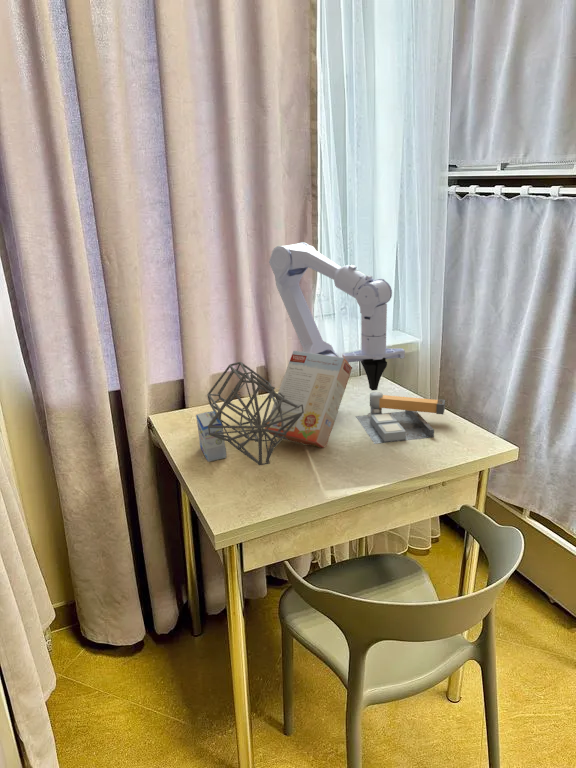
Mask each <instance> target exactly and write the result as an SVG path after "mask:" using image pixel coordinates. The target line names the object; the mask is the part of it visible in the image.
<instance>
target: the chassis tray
mask: <svg viewBox="0 0 576 768" xmlns="http://www.w3.org/2000/svg"><path fill="white" fill-rule="evenodd" d="M369 410H370V412H369V413H367V414H366V415H365V414H364V415H356V416H355V417H356V419H357V420H358V422H359V424H360V425H361V426H362V428H363V429H364V431H365V432H366V434H367V435H368V437H369V438H370V440H371V441H372V442H373V445H376V444H377V445H378V444H385V443H386V444H387V443H395V442H396V443H397V442H403V441H413V440H422V439H423V440H424V439H432V438H434V437H435V429H434V428H433V427H432V426H431V425H430V423H429V422H427V420H425V419H424V417H423V416H422V415H421V414H420V413H419V412H418V411H408V410H401V411H394V412H390V413H391V414H392V415H393V417H394V418H395V419H396V420H397V423H399V424H400V425H401V426H402V427H403V428H404V430H405V431H406V439H404V440H395V441H385V442H384V440H383V439H382V438H381V436H380V435H379V433H378V431H376V429H375V428H374V427H373V425H372V424H371V422H370V418H371V415H374V414H384V413H383V408H372V407H370V409H369Z"/></svg>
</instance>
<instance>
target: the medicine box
mask: <svg viewBox="0 0 576 768" xmlns="http://www.w3.org/2000/svg"><path fill="white" fill-rule="evenodd" d="M215 415H216V414H215V412H214V411H213V410H212V411H206V412H202V413H197V414H196V415H195V417H196V425H197V432H198V438H199V440H198V441H199V446H200V449H201V451H202V453H203V455H204V457H205V459H206V461H207V462H208V463H210V462H214V461H219V460H222V459H226V458H227V448H226V441H224V440H221V439H219V438H216V437H213V436H211V435H209V430H208V425H209V424H210V422H211V421H212V419H213V418H214V416H215ZM213 425H222V424H221V422H220V420H219V419H218V418H217V419H216V420H215V422H214V423H213ZM221 432H224V428H210V433H221ZM221 435H225V434H221Z"/></svg>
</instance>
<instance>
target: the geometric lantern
mask: <svg viewBox="0 0 576 768" xmlns="http://www.w3.org/2000/svg"><path fill="white" fill-rule="evenodd" d="M233 366H237V367H236V369H235V368H234V367H233ZM240 367H241V369H242V371H243V372H242V371H240V370H239V368H240ZM229 370H230V373H229V374H228V376H227V377H226V379H225V380H224V382H223V384H222V386H221V388H220V389H219V391H218V392H217V393H212V392H213V391H215V390H214V389H216V387H217V385H218V384H219V383H220V382H221V381H222V379H223V378H224V377H225V375H226V374H227V372H228V371H229ZM248 371H249V372H248ZM234 374H235V375H236V377H238V379H239V380H238V382H237V383H236V385H235V386H234V388H233V389H231V391H230V392H231V393H230V394H229V395H228V396H227V398H226V399H225V398H223V397H222V396H221V395H222V393H223V391H224V389H225V388H226V387H227V384H228V383H229V382H230V380H231V378H232V377H233V375H234ZM248 384H251V387H252V396H251V393H250V389H249V385H248ZM244 385H245V386H246V387H245V388H246V390H247V392H248V397H249V400H248V402H247V404H245V402H244V400H242V397H241V396H240V395H239V394H238V392H239V391H240V390H241V388H243V386H244ZM255 385H256V386H257V387H256V386H255ZM275 389H276V388H275V386H272V384H271V383H270V381H268V380H266V379H265V378H264V377H263V376H261V375H260V374H258V373H257V372H256V371H254V370H253V369H251V368H250V367H249V366H248V365H246V364H245V363H243V362H241V361H238V362H233V363H230V364H228V366H227V367H226V369H225V370H224V371H223V373H222V374H221V375H220V377H219V378H218V379H217V380H216V382H215V383H214V385H212V387H211V388H210V390H209V391H208V393H207V399H208V404H209V406H210V408H211V410H212V411H214V412H215V414H216V415H215V416H214V418H213V419H212V421H211V422H210V424H209V425H208V430H209V435H211V436H213V437H216V438H219V439H221V440H224V441H225V442H228V443H229V444H230V445H231V446H233V447H234V449H236V450H237V451H238V452H240V453H242V455H245V456H246V457H247V458H249V459H250V460H251V461H253V462H254V463H255V464H257V465H258V466H264V465H265V466H266V465H269V464H271V462H270V461H271V460H270V459H271V457H272V454H273V452H274V451H275V448H276V447H277V446H278V445H279V444H280V443H281V441H283V440H284V439H283V438H284V436H282V437H281V438H278V440H277V435H278V434H280V435H287V434H286V433H287V432H288V431H289V430H290V429H291V427H292V426H293V425H294V424H295V422H296V421H297V420H298V419H299V418H300V416H302V413H304V410H303V404H301V405H299V406H298V405H296V404H294V403H292V402H290V401H289V400H287V399H285V398H284V397H285V396H284V395H283V394H281V393H279V394H280V395H281V396H282V397H281V396H279V395H278V392H276V391H275ZM260 390H262V391H264V392H267V393H268V395H267V397H266V398H265V399H264V401H263V402H262V404H261V405H260V406H259V402H258V395H257V394H258V392H259V391H260ZM212 396H214V397H216V396H218V398H217V399H216V400H215V399H214V398H213V397H212ZM235 398H236V399H237V400H238V401H239V403H240V404H241V406H242V407H243V408H241V407H239V406H238V405H236V404H234V403H233V400H234V399H235ZM275 399H277V402H278V404H277V402H275ZM219 401H222V402H223V403H222V405H221V406H219V405H218V402H219ZM253 401H254V403H253ZM271 401H273V404H274V403H275V405H276V407H275V408H274V410H273V411H272V412H271V411H270V413H271V414H269V415H268V413H269V410H270V407H271V406H270V405H271ZM282 402H285V403H287V404H289V405H291V406H294V407H295V408H293V409H291V410H289V411H287V412H285V413H283V414H282V409H281V403H282ZM266 403H267V405H266V407H265V411H264V415H263V418H262V420H261V414H260V413H261V412H260V411H261V410H262V408H263V407H264V406H265V404H266ZM250 406H251V408H252V410H253V414H252V412H251V411H250V409H249V407H250ZM301 406H302V412H301V413H298V414H295V415H292V416H290V417H287V418H284V419H283V416H282V415H284V414H286V413H288V412H290V411H292V410H294V409H296V408H299V407H301ZM226 407H227V408H228V409H229V410H231V411H232V412H234V413H235V414H237V415H238V416H240V422H238V421H237V420H236V419H234V418H233V417H232V416H230V415H228V414H227V413H225V412H224V411H223V410H224V409H225V408H226ZM276 410H278V411H279V412H278V413H277V415H276V416H275V417H274V418H273V419H271V420H270V418H271V417H272V416H273V414H274V413H275V411H276ZM244 412H245V413H246V414H243V413H244ZM279 413H280V415H279ZM222 415H224V416H225V417H227V418H228V419H229V420H230V421H232V422H234V423H235V424H237V425H230V424H229V423H227V422H226V421H224V420H223V419H222ZM246 415H247V416H246ZM267 415H268V417H267ZM278 415H279V416H278ZM278 417H280V418H281V420H278V421H275V422H273V421H274V420H275V419H276V418H278ZM217 418H218V419H219V420H220V422H221V424H222V425H213V423H214V422H215V420H216V419H217ZM292 418H293V419H292ZM243 419H244V420H246V421H245V422H243ZM289 419H292V420H291V421H289V422H288V423H287V424H285V425H284V424H283V421H286V420H289ZM270 421H271V423H269V424H267V423H268V422H270ZM280 422H281V426H282V427H281V428H280V429H279V430H278V431H273V430H269V429H268V428H269V427H270V426H271V425H274V424H277V423H280ZM290 424H291V425H290ZM288 425H290V426H289V427H288V428H287V429H286V431H285V430H284V428H286V427H287V426H288ZM265 427H267V428H266V429H265ZM210 428H223V432H221V433H210ZM227 429H231V430H233V431H227ZM238 429H240V430H238ZM281 430H283V432H284V433H283V432H281ZM269 432H270V433H275V435H274V436H273V435H272V437H271V436H270V435H269V434H270V433H269ZM235 433H238V435H236V436H233V437H232V436H230V435H229V434H235ZM221 434H224V435H221ZM257 434H258V435H257ZM249 435H250V436H249ZM242 437H244V438H246V440H245V441H242V442H239V441H238V439H240V438H242ZM263 437H264V439H263ZM251 441H252V442H255V443H257V442H258V459H257V458H256V457H254V456H253V454H252V453H250V452H249V450H247V449H246V448H245V446H246V445H247V444H249V442H251ZM263 442H265V443H264V444H265V448H266V449H265V450H266V457H265V462H264V463H263ZM268 442H270V443H269V446H268Z"/></svg>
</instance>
